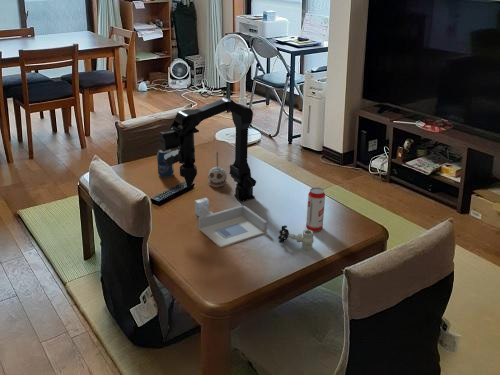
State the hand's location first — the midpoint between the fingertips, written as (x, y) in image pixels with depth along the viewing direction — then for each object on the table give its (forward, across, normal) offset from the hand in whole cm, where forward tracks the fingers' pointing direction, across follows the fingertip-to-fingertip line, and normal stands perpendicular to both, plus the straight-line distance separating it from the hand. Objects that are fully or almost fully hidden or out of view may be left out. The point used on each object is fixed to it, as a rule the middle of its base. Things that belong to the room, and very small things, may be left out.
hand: (188, 182), depth 220 cm
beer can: (+14, +17, +46) cm, 51 cm away
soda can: (+14, -38, -9) cm, 41 cm away
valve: (+14, +28, +37) cm, 48 cm away
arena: (+14, +15, +15) cm, 25 cm away
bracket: (+14, +3, +6) cm, 15 cm away
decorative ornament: (+14, -26, +13) cm, 32 cm away
